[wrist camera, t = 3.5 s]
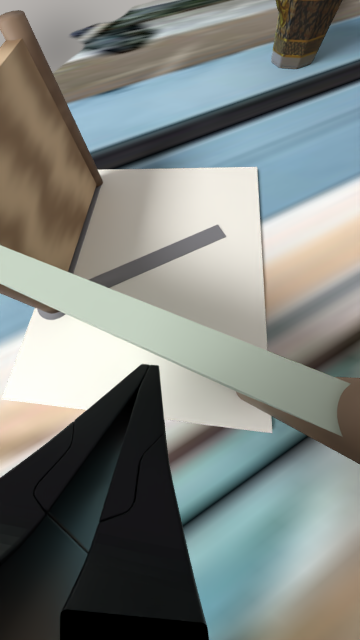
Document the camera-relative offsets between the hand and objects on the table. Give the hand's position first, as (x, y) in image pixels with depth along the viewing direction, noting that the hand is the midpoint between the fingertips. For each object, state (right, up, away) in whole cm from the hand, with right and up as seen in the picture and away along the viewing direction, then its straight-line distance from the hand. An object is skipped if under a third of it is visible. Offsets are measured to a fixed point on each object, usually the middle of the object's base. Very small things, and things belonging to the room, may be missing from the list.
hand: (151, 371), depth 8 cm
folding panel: (-1, 0, +6) cm, 7 cm away
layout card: (-2, +8, +10) cm, 13 cm away
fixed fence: (-10, +12, +11) cm, 19 cm away
